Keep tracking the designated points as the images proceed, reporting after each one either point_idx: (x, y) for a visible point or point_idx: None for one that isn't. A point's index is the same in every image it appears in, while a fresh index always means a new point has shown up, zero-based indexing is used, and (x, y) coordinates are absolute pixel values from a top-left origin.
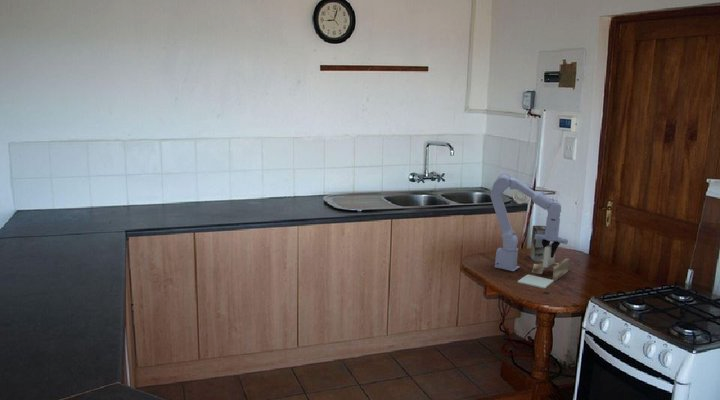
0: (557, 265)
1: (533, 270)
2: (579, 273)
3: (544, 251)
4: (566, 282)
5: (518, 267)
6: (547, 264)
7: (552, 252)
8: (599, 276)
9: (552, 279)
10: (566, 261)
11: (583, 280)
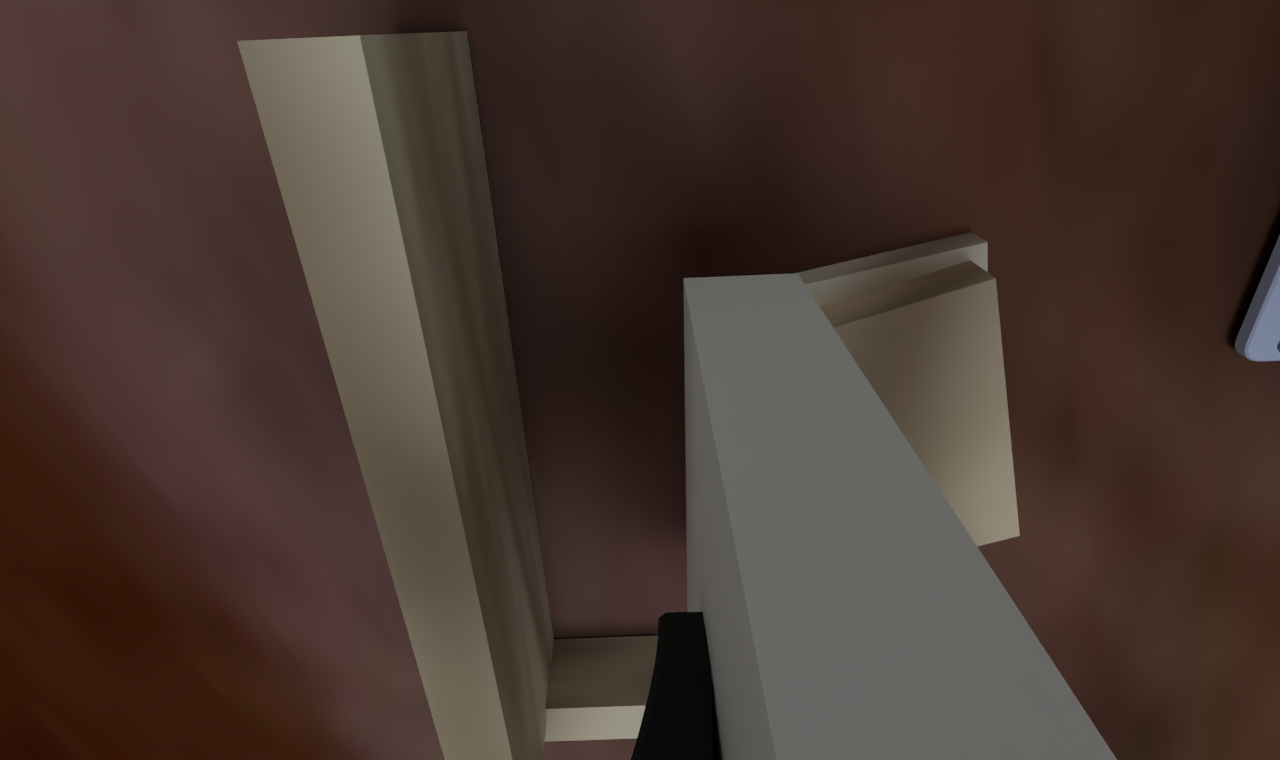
0: (391, 331)
1: (963, 266)
2: (356, 659)
3: (980, 570)
4: (208, 121)
5: (1267, 290)
6: (689, 311)
7: (667, 757)
8: (123, 702)
9: (461, 33)
10: (442, 729)
11: (117, 437)
